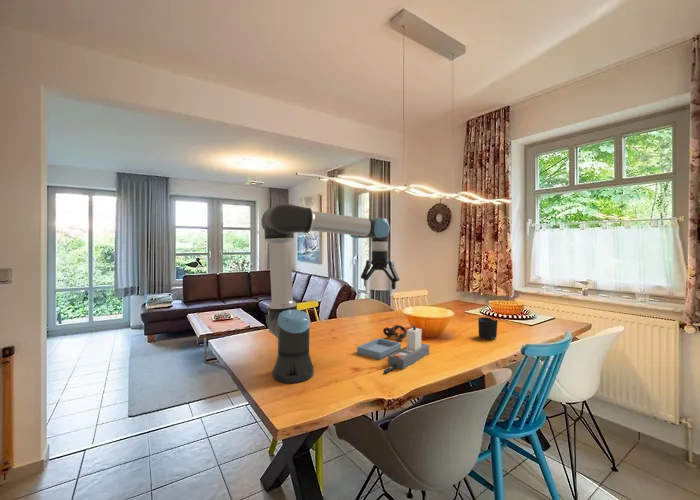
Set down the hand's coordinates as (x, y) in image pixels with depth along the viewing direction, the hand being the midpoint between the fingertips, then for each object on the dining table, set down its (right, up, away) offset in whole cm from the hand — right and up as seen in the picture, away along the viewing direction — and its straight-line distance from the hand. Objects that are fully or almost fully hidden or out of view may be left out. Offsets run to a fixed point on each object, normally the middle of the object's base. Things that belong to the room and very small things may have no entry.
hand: (379, 294), depth 152 cm
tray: (0, -25, -6) cm, 26 cm away
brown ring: (+9, -26, +14) cm, 30 cm away
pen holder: (+60, -26, +18) cm, 67 cm away
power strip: (+9, -26, -19) cm, 33 cm away
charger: (+14, -24, -13) cm, 30 cm away
